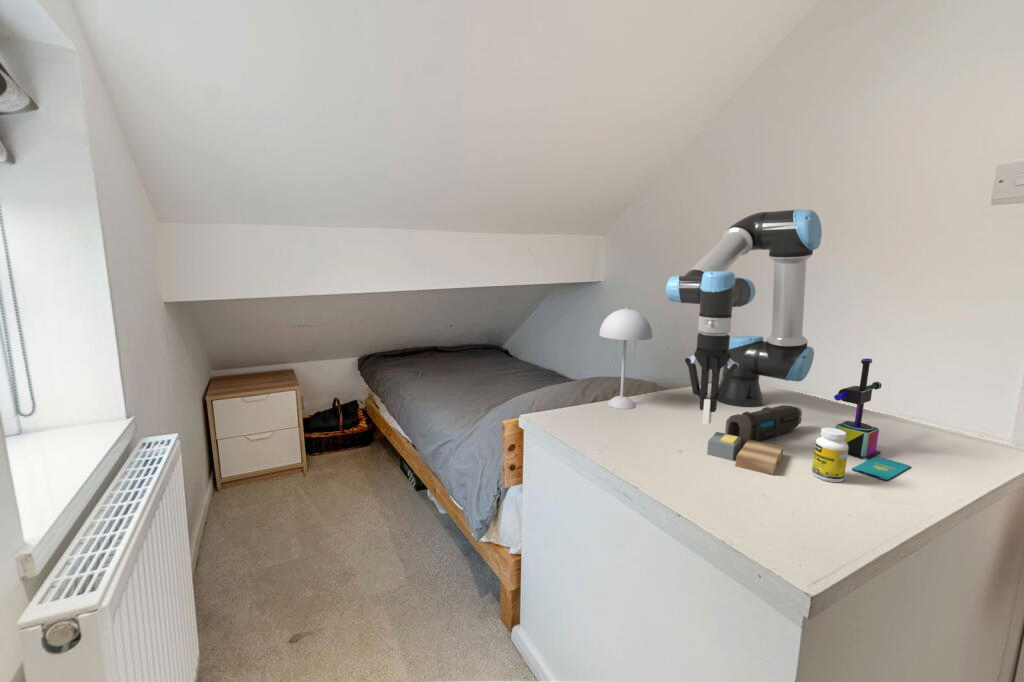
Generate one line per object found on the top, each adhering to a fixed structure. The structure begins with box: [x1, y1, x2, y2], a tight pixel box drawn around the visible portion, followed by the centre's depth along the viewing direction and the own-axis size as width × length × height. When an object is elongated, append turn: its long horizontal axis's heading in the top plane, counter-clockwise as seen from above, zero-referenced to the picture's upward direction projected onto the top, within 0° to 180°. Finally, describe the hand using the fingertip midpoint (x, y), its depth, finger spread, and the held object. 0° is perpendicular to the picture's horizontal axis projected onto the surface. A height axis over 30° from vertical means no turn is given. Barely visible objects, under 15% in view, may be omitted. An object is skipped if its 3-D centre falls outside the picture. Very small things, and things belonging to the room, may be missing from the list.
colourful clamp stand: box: [833, 358, 882, 461], centre depth 125 cm, size 25×9×24 cm, turn 124°
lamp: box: [598, 307, 653, 410], centre depth 159 cm, size 17×17×33 cm
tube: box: [724, 404, 803, 448], centre depth 133 cm, size 11×7×30 cm
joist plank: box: [735, 439, 784, 476], centre depth 117 cm, size 14×8×2 cm, turn 143°
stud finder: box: [706, 431, 741, 462], centre depth 121 cm, size 8×6×4 cm
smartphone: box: [851, 455, 912, 482], centre depth 114 cm, size 7×1×15 cm
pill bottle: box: [811, 427, 848, 483], centre depth 108 cm, size 6×6×11 cm
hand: (706, 422), depth 124 cm, fingers closed
